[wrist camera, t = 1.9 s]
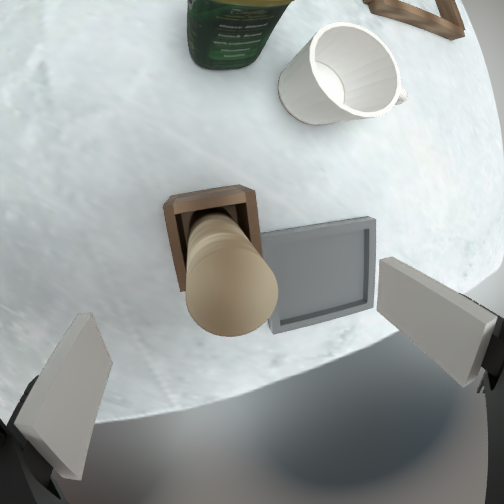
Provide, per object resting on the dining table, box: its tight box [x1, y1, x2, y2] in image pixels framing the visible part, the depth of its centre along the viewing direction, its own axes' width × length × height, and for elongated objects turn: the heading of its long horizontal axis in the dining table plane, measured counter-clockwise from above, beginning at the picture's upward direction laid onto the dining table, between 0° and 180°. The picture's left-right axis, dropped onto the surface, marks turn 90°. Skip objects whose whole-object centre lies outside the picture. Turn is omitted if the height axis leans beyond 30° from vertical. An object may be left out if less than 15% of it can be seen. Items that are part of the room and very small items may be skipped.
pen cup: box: [163, 185, 263, 292], centre depth 27 cm, size 7×7×8 cm
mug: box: [278, 22, 408, 125], centre depth 24 cm, size 11×9×10 cm
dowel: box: [186, 206, 278, 337], centre depth 22 cm, size 4×4×17 cm
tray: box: [260, 216, 376, 334], centre depth 34 cm, size 14×12×2 cm
